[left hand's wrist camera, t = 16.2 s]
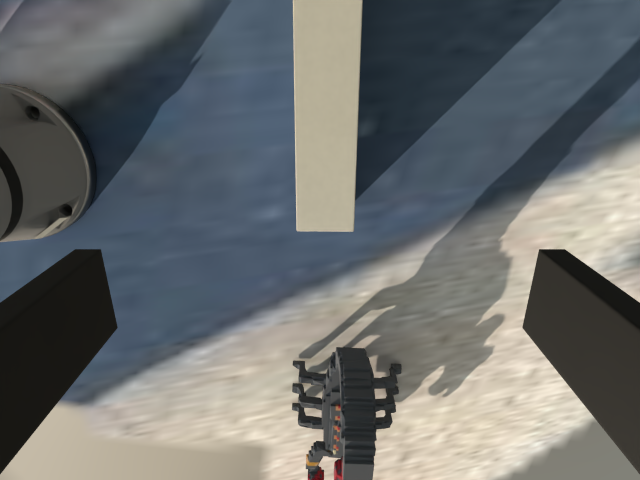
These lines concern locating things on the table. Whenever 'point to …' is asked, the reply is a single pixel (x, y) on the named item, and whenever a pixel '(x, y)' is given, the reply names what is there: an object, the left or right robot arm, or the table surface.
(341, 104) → the post
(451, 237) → the table surface
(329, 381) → the toy
